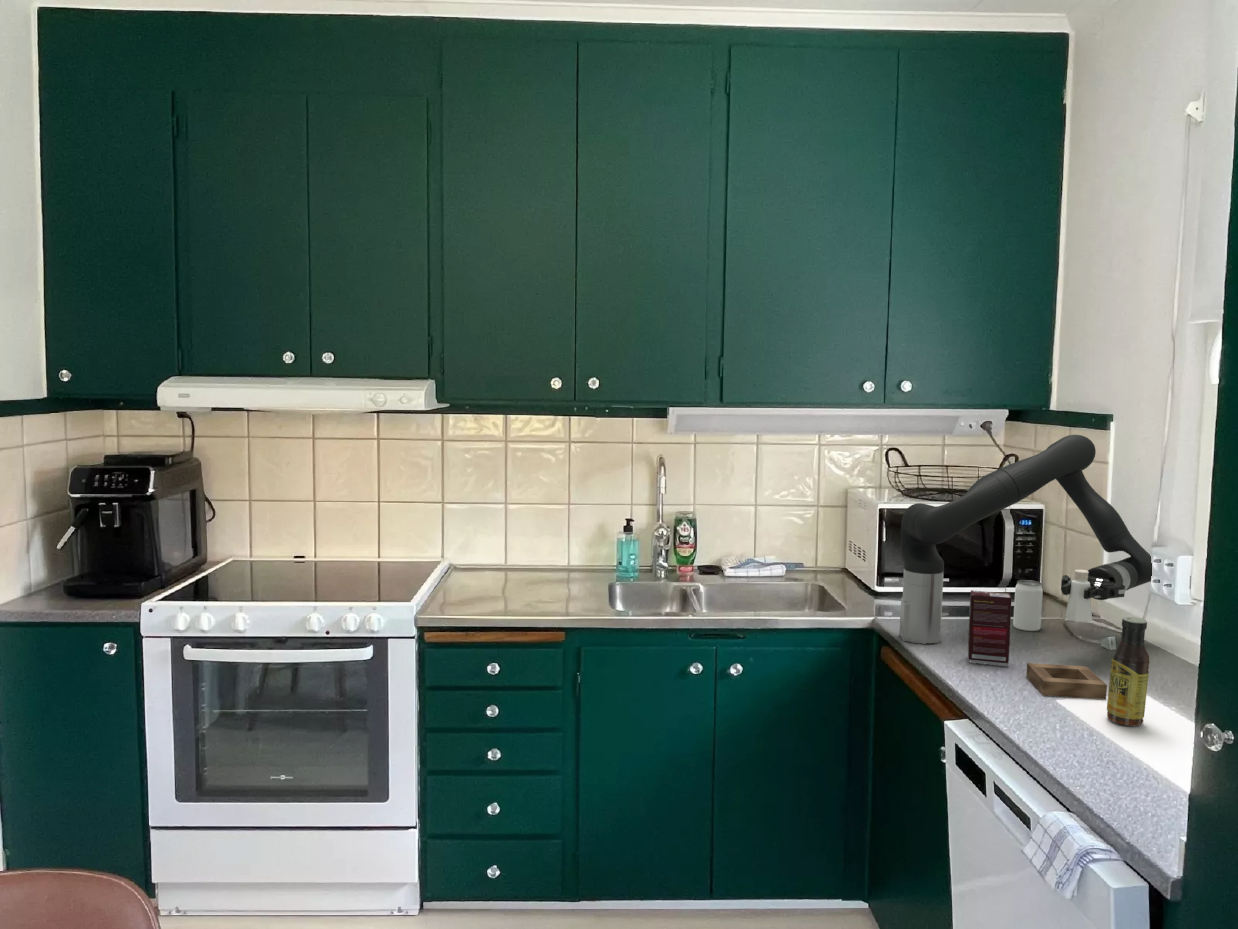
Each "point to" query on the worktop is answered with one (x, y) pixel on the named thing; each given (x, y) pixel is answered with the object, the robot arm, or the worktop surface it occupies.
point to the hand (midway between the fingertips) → (1075, 592)
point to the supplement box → (989, 628)
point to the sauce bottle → (1129, 675)
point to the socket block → (1066, 681)
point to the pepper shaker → (1079, 599)
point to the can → (1028, 605)
